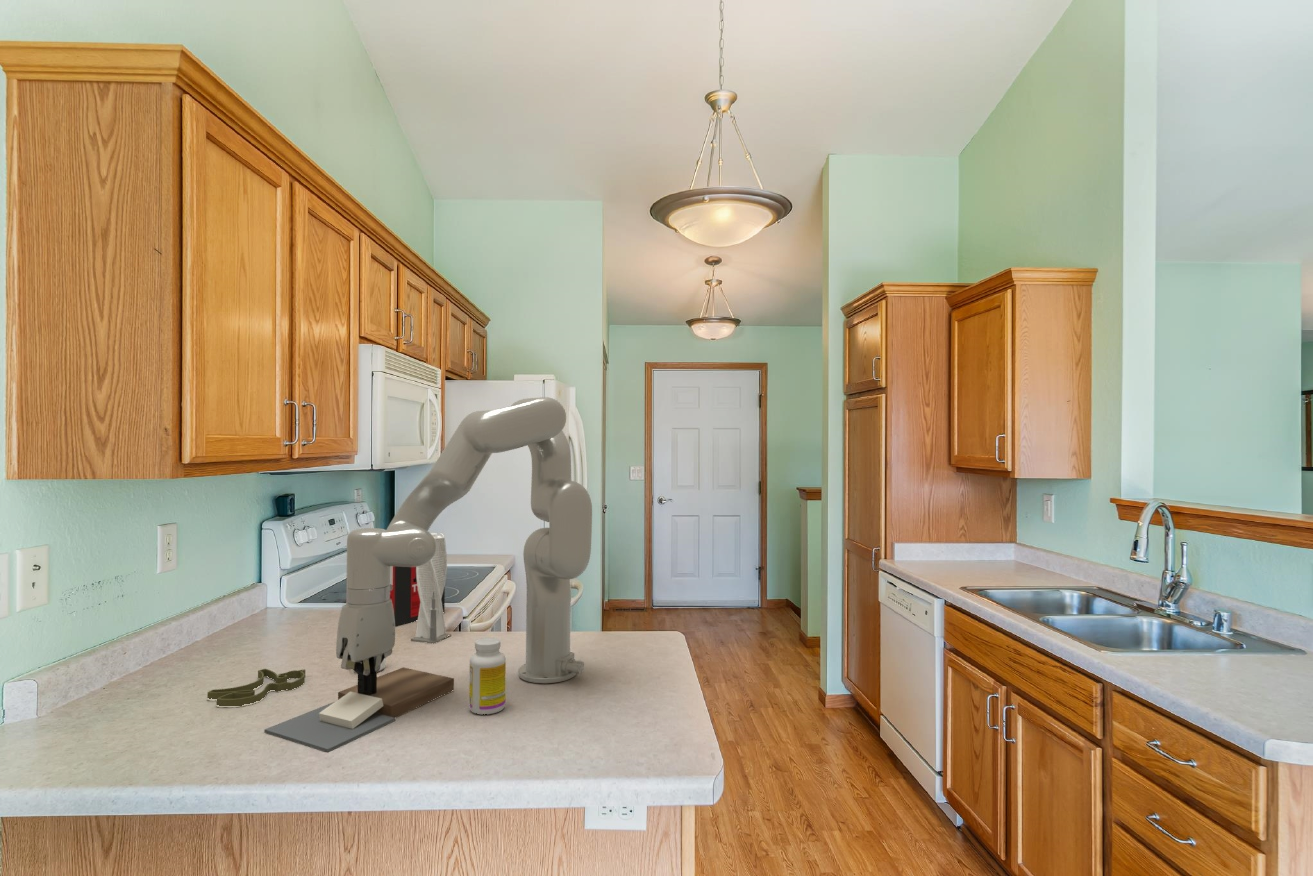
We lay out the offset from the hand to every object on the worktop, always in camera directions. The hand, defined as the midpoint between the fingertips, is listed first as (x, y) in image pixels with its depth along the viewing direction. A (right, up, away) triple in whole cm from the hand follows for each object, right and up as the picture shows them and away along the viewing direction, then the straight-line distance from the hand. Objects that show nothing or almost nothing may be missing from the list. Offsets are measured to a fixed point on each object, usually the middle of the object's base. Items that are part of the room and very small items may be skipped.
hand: (367, 693), depth 128 cm
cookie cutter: (-25, -4, +9) cm, 27 cm away
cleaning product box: (-15, -3, +66) cm, 67 cm away
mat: (-3, -3, -7) cm, 8 cm away
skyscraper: (-4, -3, +47) cm, 47 cm away
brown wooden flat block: (+3, -3, +6) cm, 8 cm away
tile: (-1, -2, -4) cm, 5 cm away
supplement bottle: (+22, -4, +2) cm, 22 cm away
